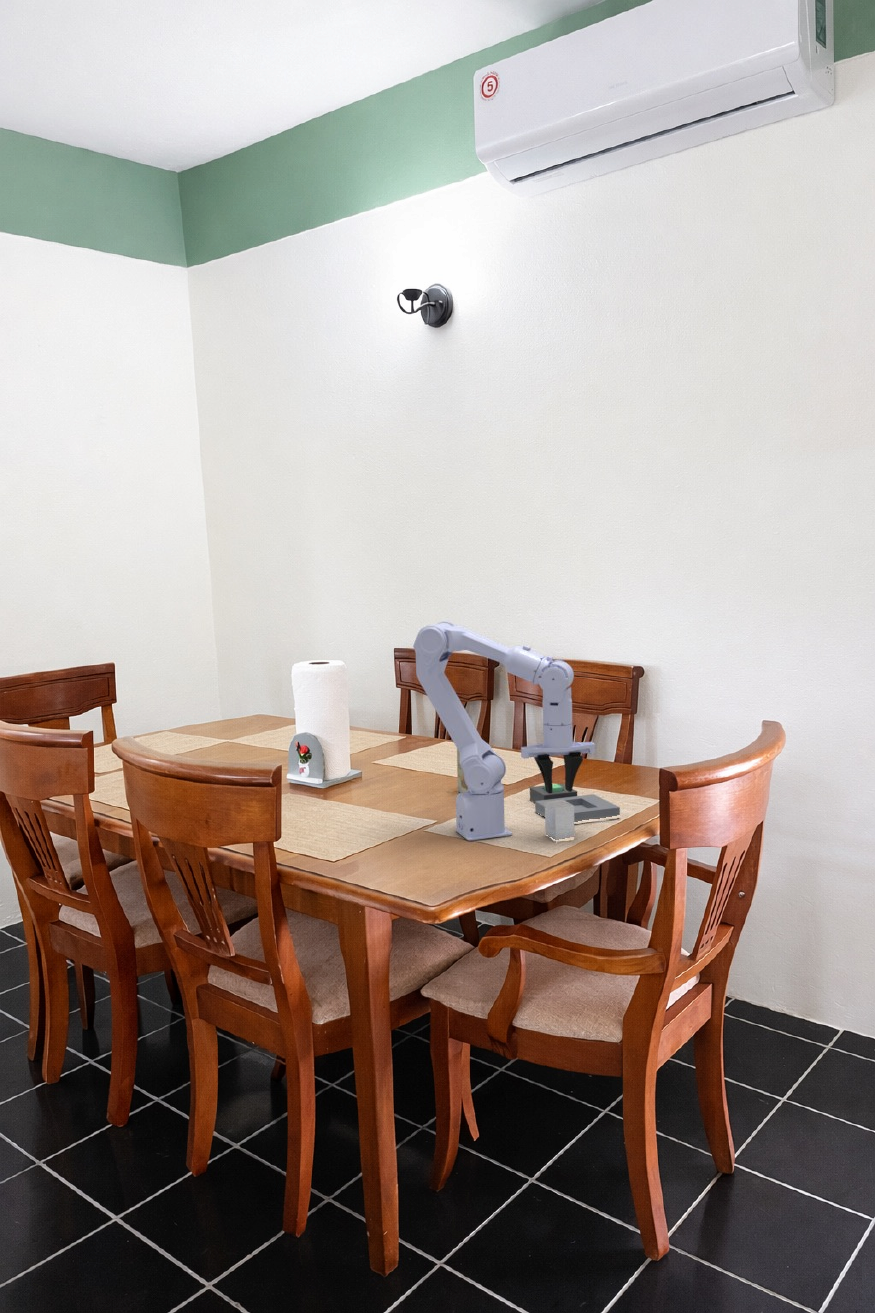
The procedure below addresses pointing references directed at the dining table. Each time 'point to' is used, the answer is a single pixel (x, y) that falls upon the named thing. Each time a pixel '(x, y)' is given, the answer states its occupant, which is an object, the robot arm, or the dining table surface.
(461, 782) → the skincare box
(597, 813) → the pocket plate
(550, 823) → the block
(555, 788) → the button
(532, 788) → the button housing
